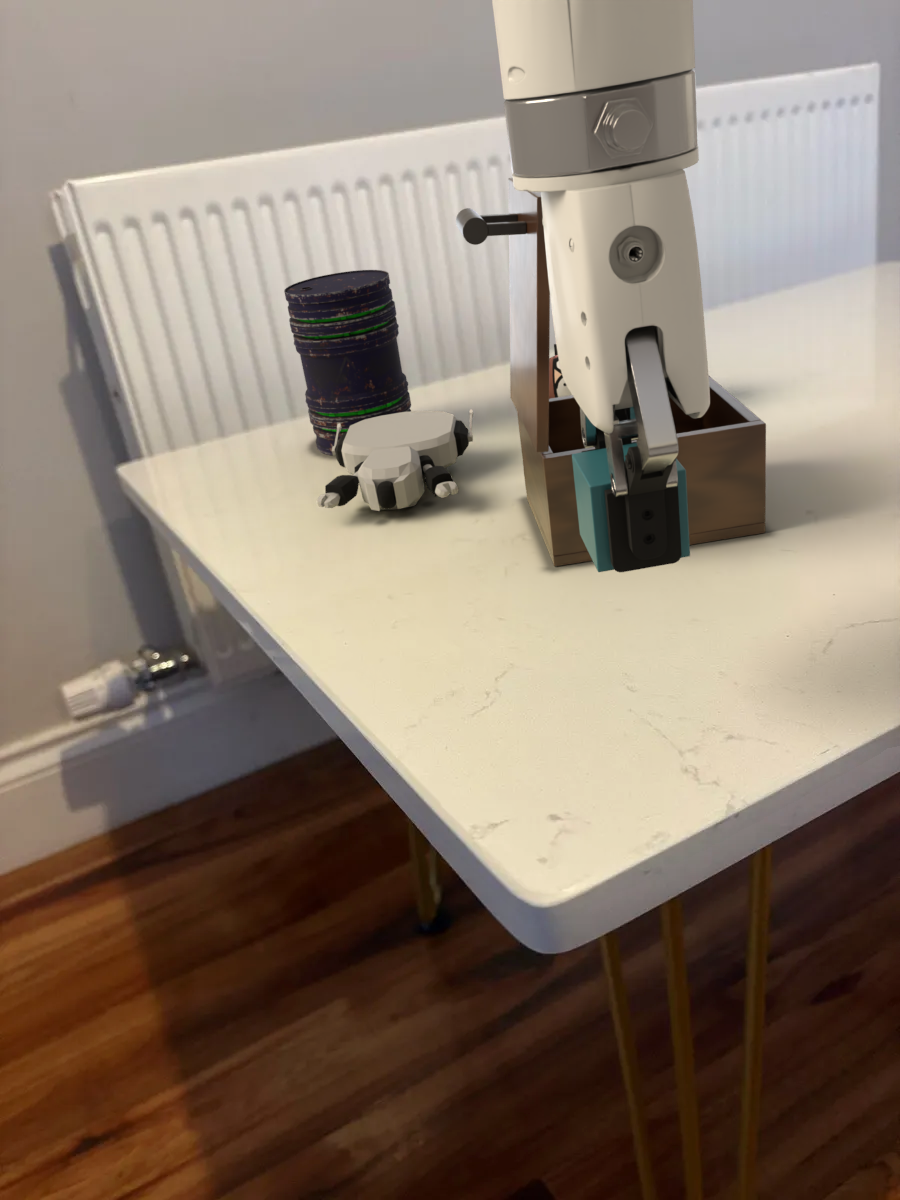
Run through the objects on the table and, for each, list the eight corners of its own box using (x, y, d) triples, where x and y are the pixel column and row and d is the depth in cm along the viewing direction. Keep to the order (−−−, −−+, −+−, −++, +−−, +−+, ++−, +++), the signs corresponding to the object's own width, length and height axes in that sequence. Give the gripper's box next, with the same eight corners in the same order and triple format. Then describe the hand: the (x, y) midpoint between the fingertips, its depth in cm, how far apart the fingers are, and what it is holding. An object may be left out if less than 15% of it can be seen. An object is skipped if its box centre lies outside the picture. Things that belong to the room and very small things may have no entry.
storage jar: (400, 414, 105) (376, 264, 98) (428, 440, 97) (403, 278, 90) (306, 436, 103) (274, 285, 96) (326, 464, 95) (292, 301, 88)
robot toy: (468, 525, 80) (479, 446, 92) (460, 473, 77) (472, 399, 90) (316, 539, 82) (347, 459, 94) (303, 488, 79) (337, 413, 92)
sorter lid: (519, 177, 70) (449, 180, 70) (550, 196, 59) (467, 200, 59) (520, 397, 77) (457, 401, 77) (548, 452, 66) (474, 456, 66)
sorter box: (709, 469, 81) (706, 373, 77) (765, 532, 70) (766, 423, 66) (526, 499, 81) (516, 403, 77) (554, 567, 70) (543, 459, 66)
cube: (665, 520, 52) (660, 438, 50) (690, 556, 48) (686, 469, 46) (579, 535, 52) (571, 453, 50) (598, 573, 48) (589, 486, 46)
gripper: (768, 132, 34) (771, 610, 42) (641, 111, 49) (662, 468, 57) (544, 171, 34) (592, 642, 42) (486, 138, 49) (530, 491, 57)
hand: (632, 538), depth 50 cm, fingers closed on cube, 4 cm apart
